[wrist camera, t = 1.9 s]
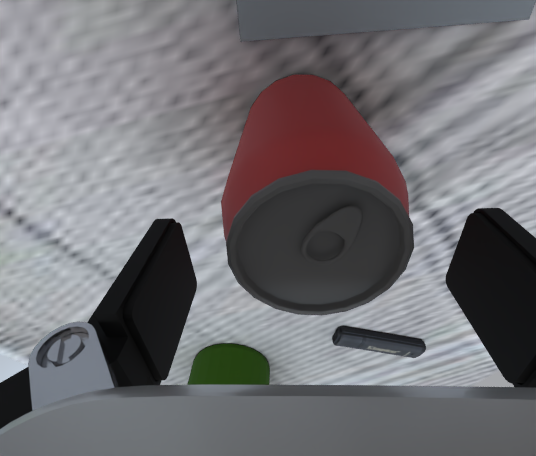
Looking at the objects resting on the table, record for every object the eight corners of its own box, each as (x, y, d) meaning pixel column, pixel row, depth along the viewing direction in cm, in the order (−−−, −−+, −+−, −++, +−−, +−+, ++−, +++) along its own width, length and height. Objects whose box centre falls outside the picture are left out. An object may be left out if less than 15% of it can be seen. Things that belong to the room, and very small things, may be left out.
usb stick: (329, 335, 32) (330, 349, 30) (337, 320, 30) (340, 334, 29) (411, 349, 32) (417, 362, 31) (424, 335, 31) (430, 349, 30)
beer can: (375, 107, 18) (489, 223, 8) (314, 193, 21) (343, 345, 11) (278, 48, 16) (272, 100, 6) (230, 151, 20) (179, 287, 10)
